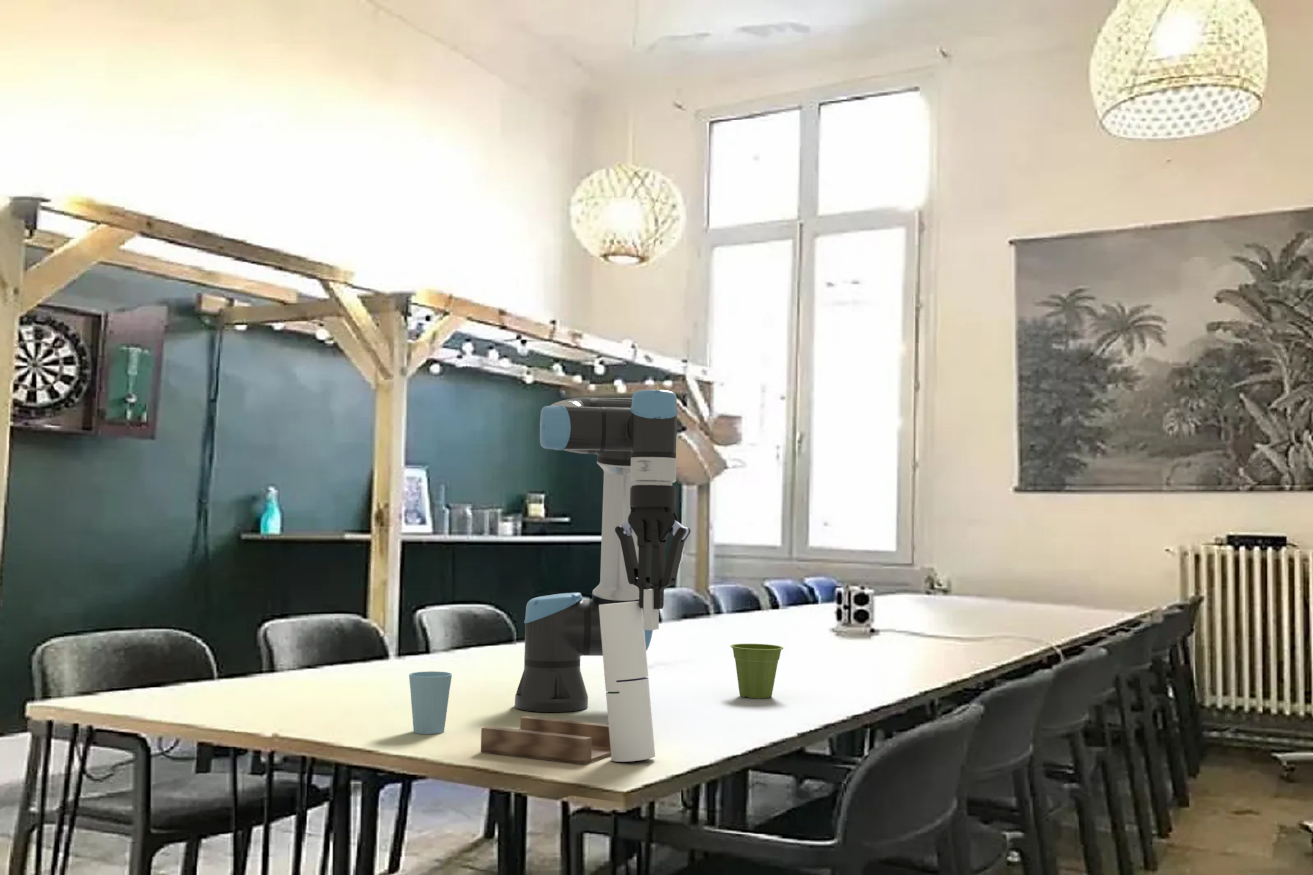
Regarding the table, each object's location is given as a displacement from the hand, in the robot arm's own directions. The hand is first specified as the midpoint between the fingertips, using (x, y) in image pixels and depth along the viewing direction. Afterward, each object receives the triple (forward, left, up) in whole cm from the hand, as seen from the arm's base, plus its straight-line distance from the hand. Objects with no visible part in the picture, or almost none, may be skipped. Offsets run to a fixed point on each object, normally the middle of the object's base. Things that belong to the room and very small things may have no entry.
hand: (650, 629), depth 192 cm
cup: (-47, +4, -22) cm, 52 cm away
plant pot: (-12, +77, -22) cm, 81 cm away
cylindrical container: (-3, 0, -21) cm, 21 cm away
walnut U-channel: (-18, 0, -21) cm, 28 cm away
